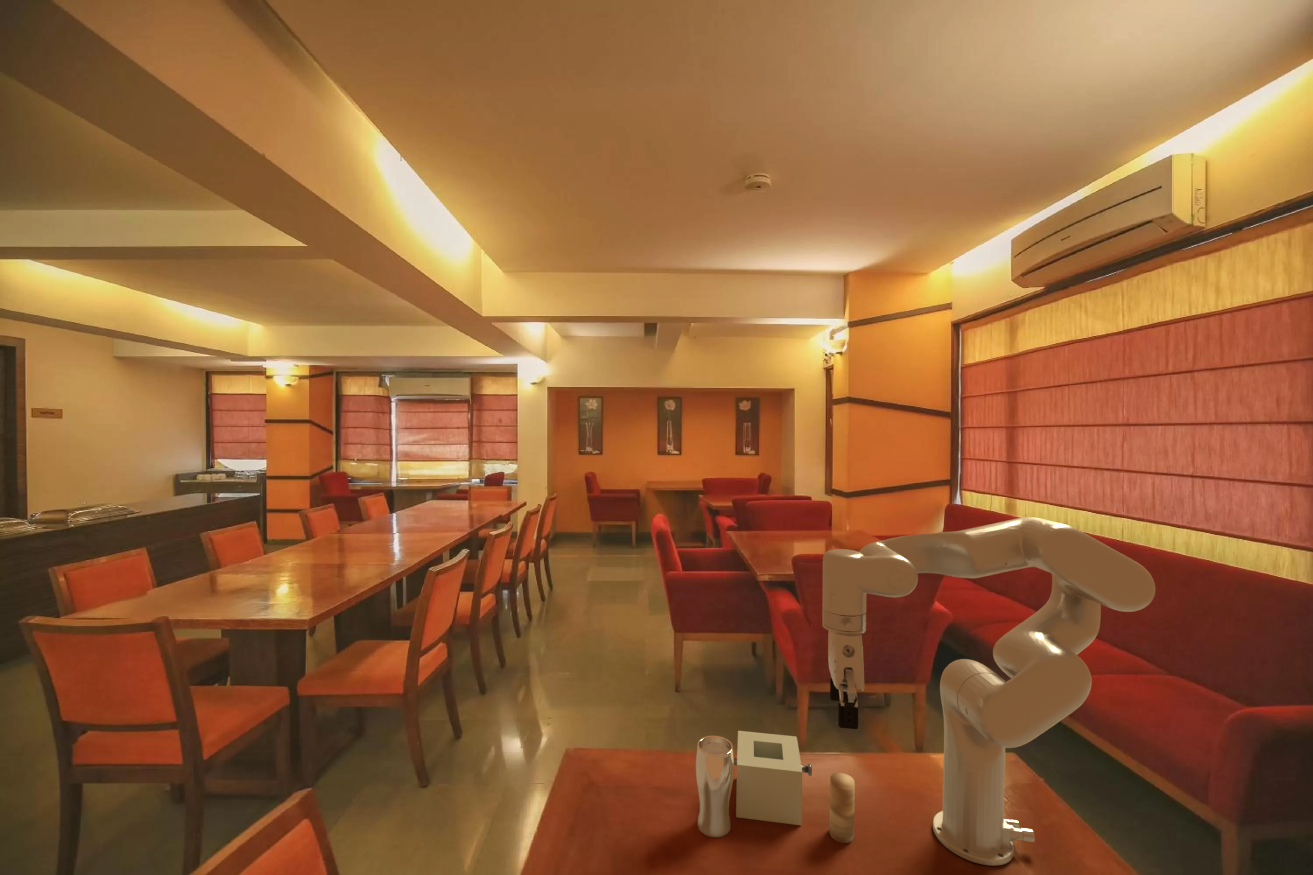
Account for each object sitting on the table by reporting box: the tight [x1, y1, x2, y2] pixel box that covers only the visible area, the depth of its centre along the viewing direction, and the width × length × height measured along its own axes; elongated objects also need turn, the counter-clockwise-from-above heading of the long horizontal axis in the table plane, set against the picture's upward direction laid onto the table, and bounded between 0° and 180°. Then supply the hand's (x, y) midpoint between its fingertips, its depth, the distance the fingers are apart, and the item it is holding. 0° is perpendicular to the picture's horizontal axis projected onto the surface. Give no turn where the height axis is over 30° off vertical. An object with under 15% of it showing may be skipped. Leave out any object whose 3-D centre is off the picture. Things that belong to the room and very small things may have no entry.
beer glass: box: [695, 735, 735, 838], centre depth 101 cm, size 7×7×15 cm
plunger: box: [801, 763, 813, 777], centre depth 108 cm, size 6×2×2 cm, turn 80°
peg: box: [829, 772, 856, 844], centre depth 100 cm, size 4×4×10 cm
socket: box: [735, 730, 803, 826], centre depth 109 cm, size 12×12×10 cm
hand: (843, 713), depth 100 cm, fingers open, 9 cm apart
